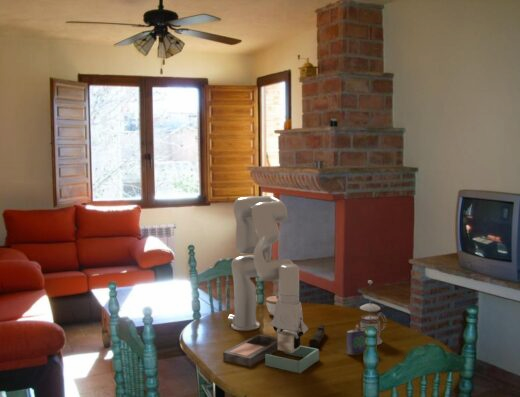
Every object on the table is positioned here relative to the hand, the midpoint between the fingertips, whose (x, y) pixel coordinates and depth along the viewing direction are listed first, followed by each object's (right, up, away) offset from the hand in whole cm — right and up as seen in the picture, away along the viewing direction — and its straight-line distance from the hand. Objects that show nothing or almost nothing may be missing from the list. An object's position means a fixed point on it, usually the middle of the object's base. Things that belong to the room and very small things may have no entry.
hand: (288, 345), depth 201 cm
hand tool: (+13, -4, +23) cm, 27 cm away
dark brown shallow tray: (-13, -5, +9) cm, 17 cm away
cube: (0, -1, 0) cm, 1 cm away
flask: (+27, -5, +8) cm, 28 cm away
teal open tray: (+1, -6, -1) cm, 6 cm away
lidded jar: (-2, -1, +59) cm, 59 cm away
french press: (+35, -4, +21) cm, 41 cm away
